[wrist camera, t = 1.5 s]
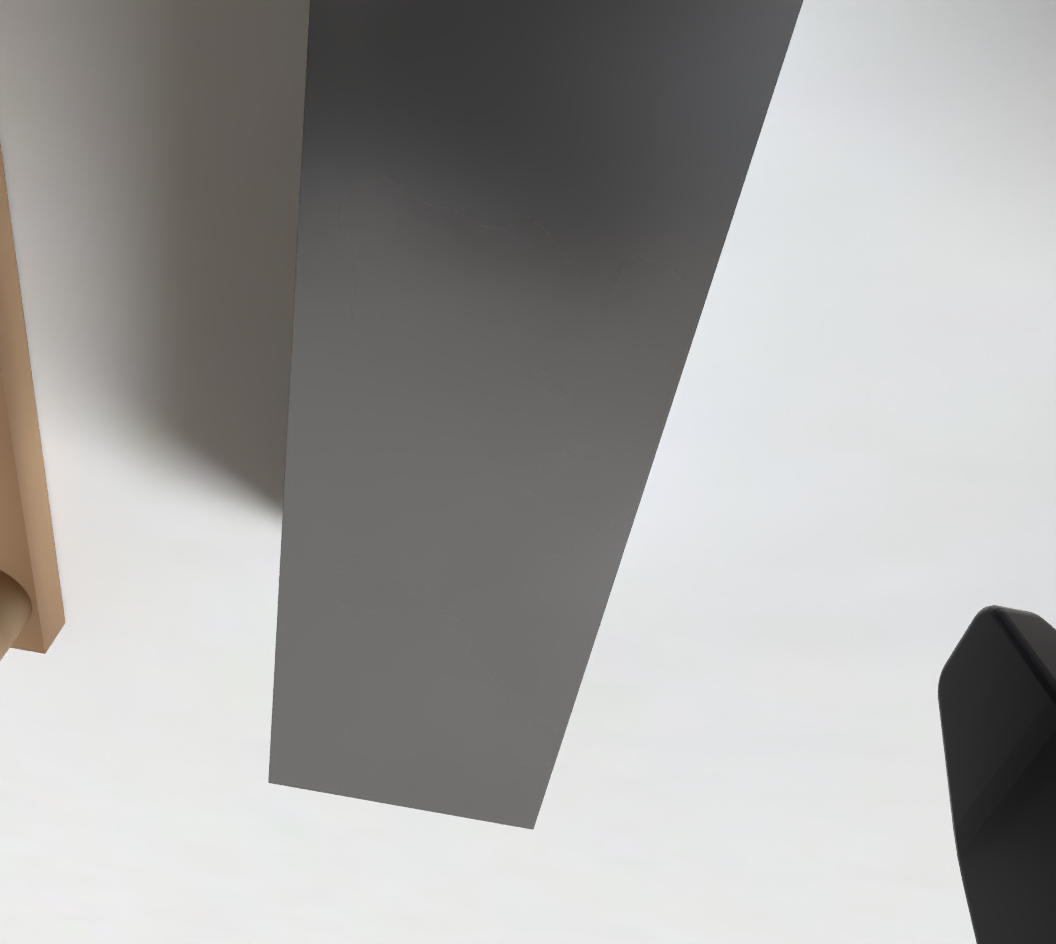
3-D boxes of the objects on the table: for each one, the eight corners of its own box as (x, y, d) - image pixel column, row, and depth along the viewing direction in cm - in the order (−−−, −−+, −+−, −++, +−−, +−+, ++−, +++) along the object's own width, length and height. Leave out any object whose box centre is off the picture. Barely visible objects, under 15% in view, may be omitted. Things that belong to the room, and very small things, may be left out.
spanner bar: (444, -325, 10) (331, -397, 6) (779, -246, 10) (889, -264, 6) (350, 543, 17) (268, 782, 13) (551, 582, 17) (533, 829, 13)
